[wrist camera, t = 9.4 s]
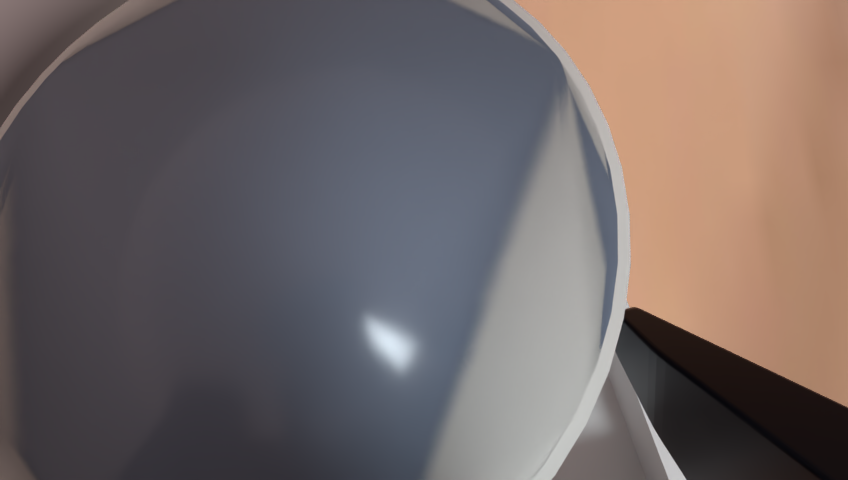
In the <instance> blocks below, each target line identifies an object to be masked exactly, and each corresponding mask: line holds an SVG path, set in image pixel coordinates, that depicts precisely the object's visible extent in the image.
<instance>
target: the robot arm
mask: <svg viewBox="0 0 848 480" xmlns="http://www.w3.org/2000/svg"><path fill="white" fill-rule="evenodd" d="M615 352H616V354H617V357H618V359H619V361H620V363H621V365H622V367H623V369H624V371H625V373H626V375H627V377H628V379H629V381H630V383H631V385H632V387H633V389H634V391H635V392H636V394H637V396H638V398H639V400H640V402H641V404H642V406H643V408H644V410H645V412H646V414H647V416H648V418H649V420H650V422H651V424H652V426H653V428H654V429H655V431H656V433H657V434H658V436H659V438H660V439H661V441H662V442H663V444H664V446H665V447H666V449H667V450H668V452H669V453H670V455H671V456H672V458H673V460H674V461H675V463H676V464H677V466H678V467H679V469H680V470H681V472H682V474H683V475H684V477H685V478H686V480H848V407H846V406H843V405H841V404H839V403H837V402H835V401H833V400H831V399H829V398H827V397H825V396H822V395H820V394H818V393H816V392H814V391H812V390H810V389H808V388H806V387H803V386H801V385H799V384H797V383H795V382H793V381H791V380H789V379H787V378H785V377H782V376H780V375H778V374H776V373H774V372H772V371H770V370H768V369H766V368H764V367H761V366H759V365H757V364H755V363H753V362H751V361H749V360H747V359H745V358H742V357H740V356H738V355H736V354H734V353H732V352H730V351H728V350H726V349H724V348H721V347H719V346H717V345H715V344H713V343H711V342H709V341H707V340H705V339H703V338H700V337H698V336H696V335H694V334H692V333H690V332H688V331H686V330H684V329H681V328H679V327H677V326H675V325H673V324H671V323H669V322H667V321H665V320H663V319H660V318H658V317H656V316H654V315H652V314H650V313H648V312H646V311H644V310H642V309H639V308H636V307H632V308H627V309H625V314H624V319H623V323H622V327H621V330H620V334H619V338H618V341H617V345H616V349H615Z"/></svg>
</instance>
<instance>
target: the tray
mask: <svg viewBox="0 0 848 480" xmlns="http://www.w3.org/2000/svg"><path fill="white" fill-rule="evenodd" d="M627 308H629V305H628V303H627V300H626V305H625V309H627ZM551 480H686V478H685V477H684V475H683V474H682V472H681V470H680V469H679V467H678V466H677V464H676V463H675V461H674V460H673V458H672V456H671V455H670V453H669V452H668V450H667V449H666V447H665V446H664V444H663V442H662V441H661V439H660V438H659V436H658V434H657V433H656V431H655V429H654V428H653V426H652V424H651V422H650V420H649V418H648V416H647V414H646V412H645V410H644V408H643V406H642V404H641V402H640V400H639V398H638V396H637V394H636V392H635V391H634V389H633V387H632V385H631V383H630V381H629V379H628V377H627V375H626V373H625V371H624V369H623V367H622V365H621V363H620V361H619V359H618V357H617V354H616V352H614V356H613V360H612V363H611V367H610V371H609V373H608V375H607V378H606V380H605V382H604V385H603V387H602V389H601V392H600V394H599V396H598V398H597V401H596V403H595V405H594V408H593V410H592V412H591V415H590V417H589V419H588V422H587V424H586V426H585V427H584V429H583V430H582V432H581V434H580V435H579V437H578V439H577V440H576V442H575V444H574V445H573V447H572V448H571V450H570V452H569V453H568V455H567V457H566V458H565V460H564V461H563V463H562V465H561V466H560V468H559V470H558V471H557V473H556V475H555V476H554V477H553V478H552V479H551Z"/></svg>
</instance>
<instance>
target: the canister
mask: <svg viewBox="0 0 848 480" xmlns="http://www.w3.org/2000/svg"><path fill="white" fill-rule="evenodd" d="M630 265H631V262H630V214H629V208H628V202H627V196H626V190H625V184H624V178H623V172H622V166H621V163H620V160H619V157H618V154H617V151H616V148H615V145H614V141H613V138H612V135H611V132H610V129H609V126H608V123H607V121H606V119H605V117H604V115H603V113H602V111H601V109H600V107H599V105H598V103H597V101H596V99H595V96H594V94H593V92H592V90H591V88H590V86H589V84H588V83H587V81H586V80H585V79H584V77H583V76H582V74H581V73H580V71H579V70H578V68H577V67H576V65H575V64H574V62H573V61H572V59H571V58H570V56H569V55H568V54H567V52H566V51H565V50H564V48H563V47H562V46H561V45H560V44H559V43H558V42H557V41H556V40H555V39H554V37H553V36H552V35H551V34H550V33H549V32H548V31H547V30H546V29H545V28H544V26H543V25H542V24H541V23H540V22H539V21H538V20H537V19H535V18H534V17H533V16H532V15H531V14H529V13H528V12H527V11H526V10H525V9H523V8H522V7H521V6H520V5H519V4H517V3H516V2H515V1H514V0H129V1H127V2H126V3H124V4H123V5H121V6H120V7H119V8H117V9H116V10H114V11H113V12H111V13H110V14H108V15H107V16H106V17H104V18H103V19H101V20H100V21H98V22H97V23H96V24H95V25H94V26H93V27H91V28H90V29H89V30H88V31H86V32H85V33H84V34H83V35H82V36H81V37H79V38H78V39H77V40H76V41H75V42H74V43H72V44H71V45H70V46H69V47H68V48H67V49H66V50H65V51H64V52H63V53H62V54H61V55H60V56H59V57H58V58H57V59H56V60H55V61H54V62H53V63H52V64H51V65H50V66H49V67H48V68H47V69H46V70H45V71H44V72H43V73H42V74H41V75H40V77H39V78H38V79H37V80H36V81H35V82H34V84H33V85H32V86H31V87H30V89H29V90H28V91H27V92H26V93H25V95H24V96H23V97H22V98H21V99H20V101H19V102H18V103H17V104H16V106H15V107H14V109H13V110H12V112H11V113H10V114H9V116H8V118H7V119H6V120H5V122H4V123H3V125H2V126H1V128H0V480H551V479H552V478H553V477H554V476H555V475H556V473H557V471H558V470H559V468H560V466H561V465H562V463H563V461H564V460H565V458H566V457H567V455H568V453H569V452H570V450H571V448H572V447H573V445H574V444H575V442H576V440H577V439H578V437H579V435H580V434H581V432H582V430H583V429H584V427H585V426H586V424H587V422H588V419H589V417H590V415H591V412H592V410H593V408H594V405H595V403H596V401H597V398H598V396H599V394H600V392H601V389H602V387H603V385H604V382H605V380H606V378H607V375H608V373H609V371H610V367H611V363H612V360H613V356H614V352H615V349H616V345H617V341H618V338H619V334H620V330H621V327H622V323H623V319H624V314H625V305H626V297H627V289H628V281H629V273H630Z"/></svg>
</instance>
